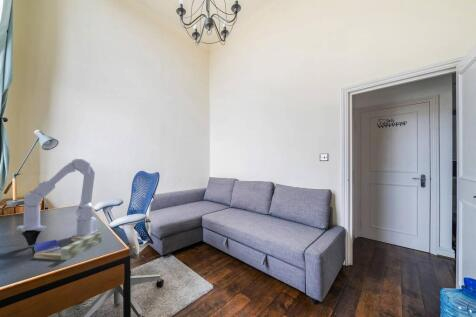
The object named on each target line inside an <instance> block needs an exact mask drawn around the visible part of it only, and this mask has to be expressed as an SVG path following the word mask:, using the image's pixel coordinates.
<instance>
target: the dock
mask: <svg viewBox="0 0 476 317" xmlns="http://www.w3.org/2000/svg"><path fill="white" fill-rule="evenodd" d="M70 241H71V242H72V243H70V244H68V245H65V246H63V247H60V253H55V252H53V253H52V252H45V253H40V252H38V253H34V254H33V258H34V259H43V260H60V261H69V260H70V259H72V258H74V257H76V256H78V255H79V254H81V253H83V252H86V251H87V250H88V249H90V248H92V247H94V246H96V245H98V244H100V243H101V242H102V231H97V232H95V233H93V234H91V235H89V236H86V237H72V236H71V240H70Z"/></svg>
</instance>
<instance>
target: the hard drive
mask: <svg viewBox="0 0 476 317" xmlns="http://www.w3.org/2000/svg"><path fill="white" fill-rule="evenodd" d="M33 249H34V252H35V253H34V254H36V253H38V252H40V253H50V252H52V251H56V250H59V249H60V250H61V246H60V244H59V243H58V241H57V239H51V240H47V241H43V242H38V243H35V244H34V245H33Z"/></svg>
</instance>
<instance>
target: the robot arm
mask: <svg viewBox="0 0 476 317" xmlns="http://www.w3.org/2000/svg"><path fill="white" fill-rule="evenodd" d="M76 171H77V172H79V173H80V174H82V175H83V180H82V188H81V197H80V203H79V205H78V208H77V209H76V212H75V214H76V216H77V218H76V233H75V234H73V235H72V236H71V238H72V237H87V236H89V235H91V234H93V233H95V232H99V230H98V219H97V218H96V217H94V211H93V205H92V197H93V189H94V183H95V182H94V181H95V174H96V173H95V171H94V169H93V166H91V163H90V162H88V161H87V160H85V159H82V158H75V159H73V160H71V161H70V162H69V163H67V164H66V165H64V166H63V167H61V169H60V170H59V171H58V172H57V173H55V175H53V176H52V177H51V178H50V179H49V180H43V181H42V182H39V183H38V186H36V187H34V189H33V190H30V191H29V193H28V194H26V195H25V196H24V197H23V199H22V201H23V204H24V205H23V225H17V226H16V231H22V232H21V235H22V236H23V237H24V239H25V240H26V242H27V245H28V246H30V247H31V246H34V244H37V243H36V242H37V241H38V237H39V236H40V234H41V233H42V232H45V231H48V226H46V225H42V224H41V207H40V205H41V204H40V203H41V202H42V199H44V198H45V197H47V196H48V195H49V194H50V193H51V192H52V191H54V189H55V188H56V184H57V183H58V182H60V181H61V180H62V179H63V178H64V177H66V176H67V175H69V174H70V173H74V172H76Z"/></svg>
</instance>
